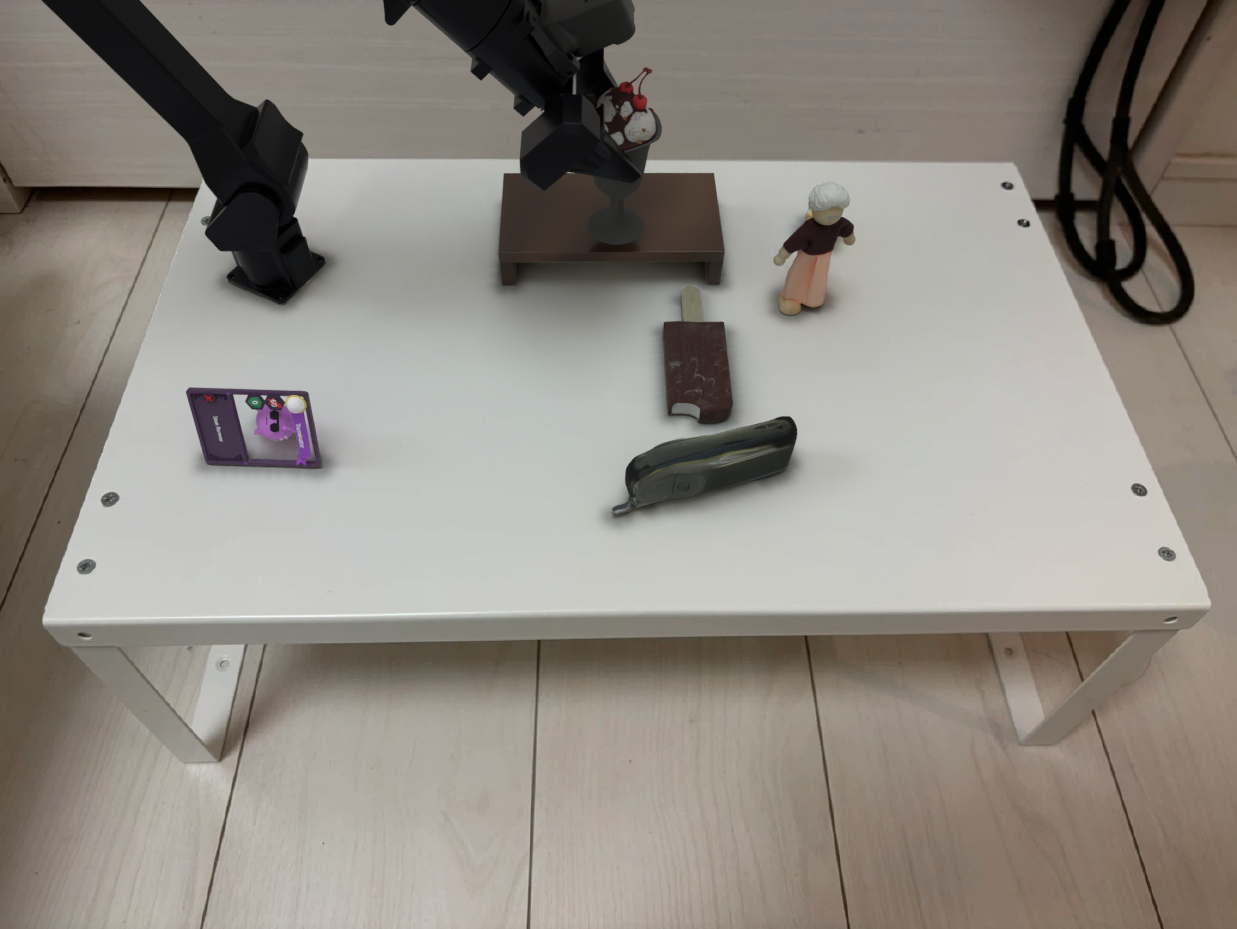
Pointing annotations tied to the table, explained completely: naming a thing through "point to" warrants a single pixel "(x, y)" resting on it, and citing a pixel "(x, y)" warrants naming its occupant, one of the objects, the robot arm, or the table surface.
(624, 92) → the sundae
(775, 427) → the swiss army knife
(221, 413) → the game card
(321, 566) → the table surface
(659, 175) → the shelf
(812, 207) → the grandmother figurine
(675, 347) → the ice cream bar
